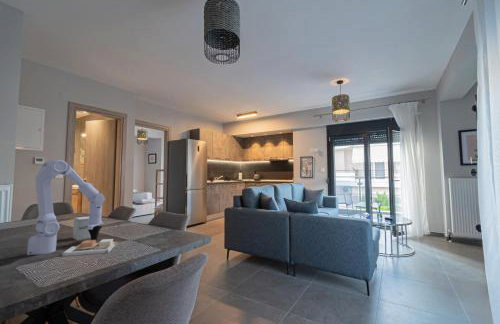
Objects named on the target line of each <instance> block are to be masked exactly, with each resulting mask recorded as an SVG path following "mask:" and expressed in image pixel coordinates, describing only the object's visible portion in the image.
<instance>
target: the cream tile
mask: <svg viewBox="0 0 500 324" xmlns="http://www.w3.org/2000/svg"><path fill="white" fill-rule="evenodd" d="M113 242H114V238H106V239H101V240H100V241H99V242H98V243H99V246H109V245H111V244H112V243H113Z"/></svg>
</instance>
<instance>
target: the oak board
mask: <svg viewBox="0 0 500 324" xmlns="http://www.w3.org/2000/svg"><path fill="white" fill-rule="evenodd" d="M118 243H119V241H113V243H112V244H114V247H116V245H117V244H118ZM80 245H81V243H80V244H77V245H76V246H75V250H82V249H84V250H85V249H96V248H108V247H109V246H110V245H109V246H99V242H96V244H95V245H93V246H92V247H80Z"/></svg>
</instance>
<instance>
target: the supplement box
mask: <svg viewBox="0 0 500 324" xmlns="http://www.w3.org/2000/svg"><path fill="white" fill-rule="evenodd" d="M88 224H89V215H88V216H79V217H74V218H73V227H72V228H73V229H72V239H73V240H76V241H80V240H86V239H91V236H90V233H89V231H88Z"/></svg>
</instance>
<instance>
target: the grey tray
mask: <svg viewBox="0 0 500 324" xmlns="http://www.w3.org/2000/svg"><path fill="white" fill-rule="evenodd" d="M75 247H76V246H73V245H72V246H71V247H69V248H68V249H66V250H64V251H63V252H61V257H71V256H81V255H82V256H83V255H84V256H85V255H97V254H108V253H110V252H111V250H112V249H113V248H114V247H115V246H114V244H111V245H110V246H109V247H106V248H105V249H104V248H103V249H91V250H90V249H89V250H88V249H87V250H76V249H75ZM74 250H75V251H74Z"/></svg>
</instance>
